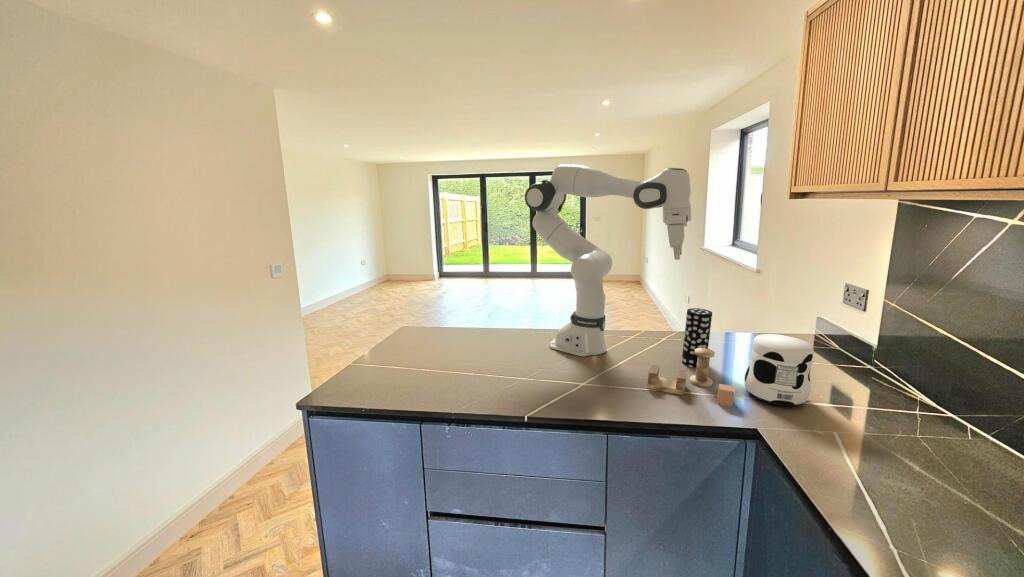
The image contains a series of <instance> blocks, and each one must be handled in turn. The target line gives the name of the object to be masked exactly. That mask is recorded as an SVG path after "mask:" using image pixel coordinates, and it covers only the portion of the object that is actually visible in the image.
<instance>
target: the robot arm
mask: <svg viewBox="0 0 1024 577" xmlns="http://www.w3.org/2000/svg"><path fill="white" fill-rule="evenodd" d="M567 195H572V196H576V197H582V198H599V197H605V196H619V197H625V198H630V199H633V201H634V203H635V205H636V206H637V207H638V208H641V209H642V210H643V209H644V210H652V209H658V208H661V207H662V220H663V221H662V222H663V224H665V226H666V227H667V235H668V236H667V237H668V242H669V246H670V248H672V250H673V258H674V260H675V261H676V260H678V261H679V260H681V256H682V252H683V251H682V249H683V245H684V241H685V235H686V234H685V227H688V223H689V222H691V221H692V205H691V201H690V197H691V179H690V174H689V172H688V171H687V170H686V168H685V169H684V168H679V167H666V168H664V169H663V170H662V171H661V172H659V173H658V174H657V175H655V176H652V177H651V178H649V179H647V180H645V181H637V180H633V179H626V178H621V177H620V178H619V177H617V176H614V175H611V174H610V173H606V172H604V171H602V170H599V169H596V168H594V167H590V166H586V165H581V164H569V163H568V164H560V165H557V166H555V168H554V170H553V171H552V173H551V177H550V179H549V180H548V179H542V180H541V181H538V182H535V183H532V184H531V185H529V187H528V188H527V189H526V190H525V193H524V201H525V205H526V206H527V207H528V208H529V209H530V210H532V211H535V212H536V214H535V215H534V217H533V219H532V227H533V229H534V231H535V232H536V233H537V234H538V235H539V237H540V238H541V239H542V240H543V241H544V243H546V245H548V246H549V247H550V248H551V249H552V250H554V252H555V253H556V254H557V255H559V256H560V257H562V258H563V259H566V260H567V261H569V262H571V263H572V264H571V267H570V273H571V276H572V278H573V280H574V286H575V292H576V299H575V300H576V304H575V306H576V307H575V310H574V311H572V314H571V315H570V317H569V320H570V321H569V322H568V323H566V324H565V325H563V326H562V327H560V329H559V330H558V331H557V332H556V336H555V338H553V339H552V340H551V341H550V342H549V348H550V349H551V350H557V351H560V352H564V353H567V354H571V355H575V356H579V357H587V356H597V355H602V354H604V353H606V351H607V345H606V340H605V329H606V315H605V312H606V311H605V309H606V294H605V291H604V285H603V278H604V277H605V276H607V275H608V274H609V273H610V271H611V269H612V266H613V259H612V256H611V254H609V253H608V252H607V251H604V250H602V249H601V248H600V247H598V245H595V244H594V243H592V242H591V241H590V240H588V239H586V238H584V237H583V236H582V235H581V234H580V233H578V232H577V230H575V229H574V228H573V227H572V226H571V225H569V224H568V223H567V222H566V221H565V220H564V219H563V218H561V216H560V215H559V213H560V212H562V210H563V209H562V208H563V206H564V204H565V203H566V200H567Z"/></svg>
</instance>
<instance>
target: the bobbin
mask: <svg viewBox="0 0 1024 577" xmlns="http://www.w3.org/2000/svg"><path fill="white" fill-rule="evenodd" d="M694 353H695V354H696V355H698V360H697V368H695V369H696V370H695V374H693V375H691V376H689V383H691V384H692V385H694V386H697V387H701V388H709V387H712V386H713V384H714V383H713V379H712V378H710V377H709V370H710V369H709V367H710V363H711V362H710V360H711V358H714V357H715V351H714V350H713V349H710V348H708V349H706V348H696V349H695V352H694Z"/></svg>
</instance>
